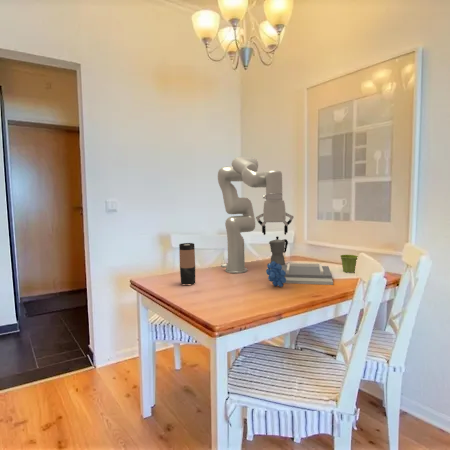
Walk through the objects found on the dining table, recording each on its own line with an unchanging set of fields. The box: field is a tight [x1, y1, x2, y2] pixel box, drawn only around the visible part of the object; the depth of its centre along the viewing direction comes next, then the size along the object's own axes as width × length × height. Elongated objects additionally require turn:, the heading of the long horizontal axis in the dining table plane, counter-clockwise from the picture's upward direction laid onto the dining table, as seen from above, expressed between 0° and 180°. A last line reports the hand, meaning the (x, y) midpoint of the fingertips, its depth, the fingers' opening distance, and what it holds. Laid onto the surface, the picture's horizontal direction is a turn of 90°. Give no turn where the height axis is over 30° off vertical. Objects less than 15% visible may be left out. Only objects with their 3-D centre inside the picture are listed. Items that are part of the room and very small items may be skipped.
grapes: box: [265, 261, 286, 288], centre depth 160 cm, size 12×7×12 cm, turn 42°
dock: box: [281, 262, 334, 286], centre depth 178 cm, size 26×28×5 cm
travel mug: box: [178, 242, 196, 285], centre depth 169 cm, size 8×8×20 cm
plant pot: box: [339, 254, 359, 273], centre depth 187 cm, size 9×9×9 cm
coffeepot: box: [268, 236, 289, 265], centre depth 207 cm, size 15×9×18 cm, turn 126°
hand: (274, 234), depth 158 cm, fingers open, 9 cm apart
